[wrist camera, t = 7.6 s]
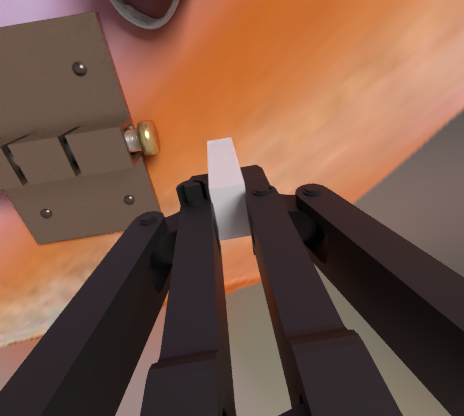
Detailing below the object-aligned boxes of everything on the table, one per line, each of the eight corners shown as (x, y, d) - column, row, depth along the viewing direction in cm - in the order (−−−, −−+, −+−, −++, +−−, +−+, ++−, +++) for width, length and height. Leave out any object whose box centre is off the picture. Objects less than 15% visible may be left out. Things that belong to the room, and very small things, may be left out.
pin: (9, 173, 30) (-13, 186, 27) (-9, 143, 28) (-34, 153, 26) (161, 148, 30) (156, 158, 27) (153, 116, 28) (146, 124, 25)
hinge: (41, 240, 35) (21, 263, 31) (-81, 42, 24) (-136, 40, 20) (164, 220, 35) (158, 240, 31) (97, 12, 24) (76, 5, 20)
